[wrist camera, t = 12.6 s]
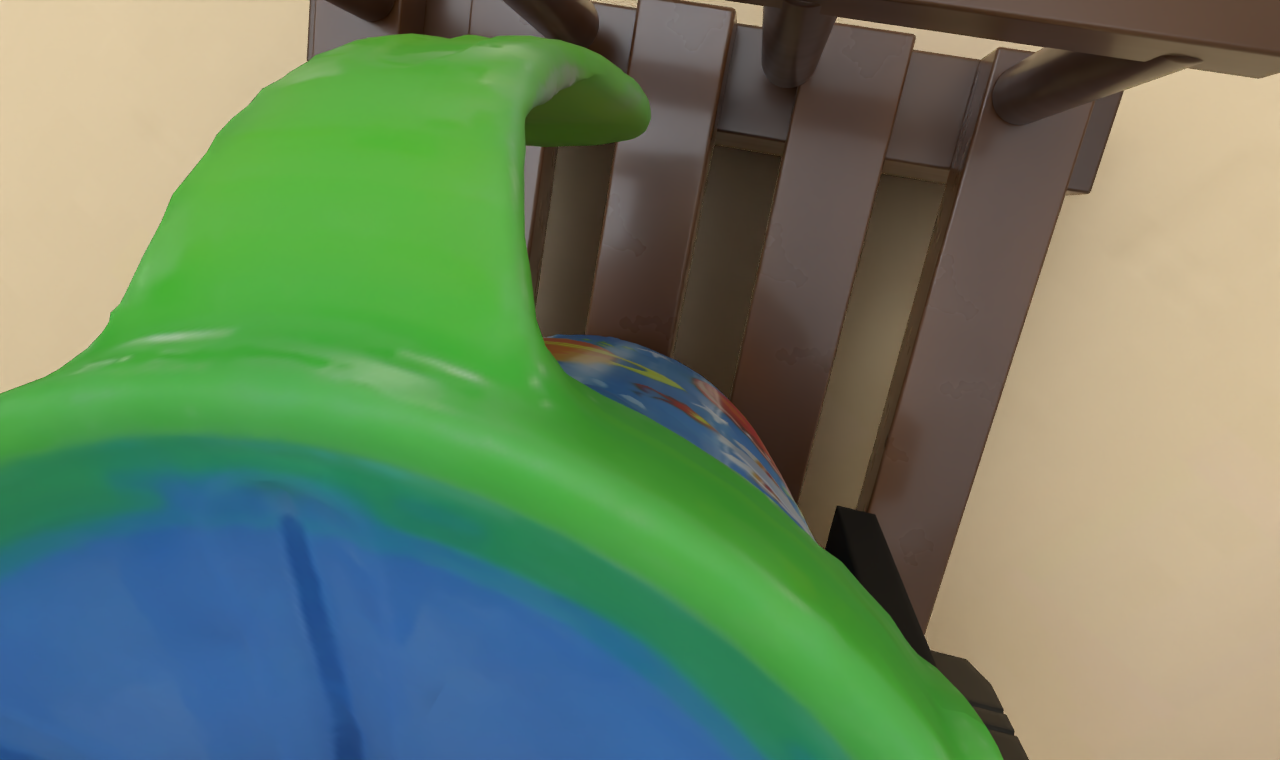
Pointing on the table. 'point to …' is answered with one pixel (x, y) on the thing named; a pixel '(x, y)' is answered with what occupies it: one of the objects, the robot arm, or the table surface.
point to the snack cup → (415, 475)
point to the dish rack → (852, 190)
